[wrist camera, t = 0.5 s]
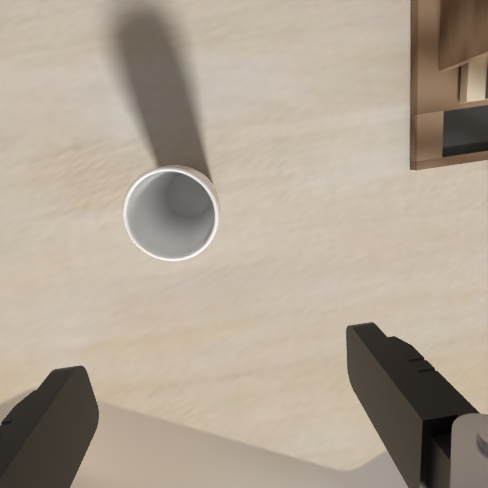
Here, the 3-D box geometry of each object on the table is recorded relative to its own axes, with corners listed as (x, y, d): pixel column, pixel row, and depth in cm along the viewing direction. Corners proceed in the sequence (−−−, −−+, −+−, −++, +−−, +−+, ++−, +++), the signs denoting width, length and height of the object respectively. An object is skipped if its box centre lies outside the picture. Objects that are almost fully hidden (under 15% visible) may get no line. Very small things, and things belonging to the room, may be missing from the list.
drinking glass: (151, 204, 36) (104, 235, 21) (178, 151, 35) (146, 145, 20) (203, 232, 37) (192, 278, 23) (231, 182, 36) (237, 196, 21)
